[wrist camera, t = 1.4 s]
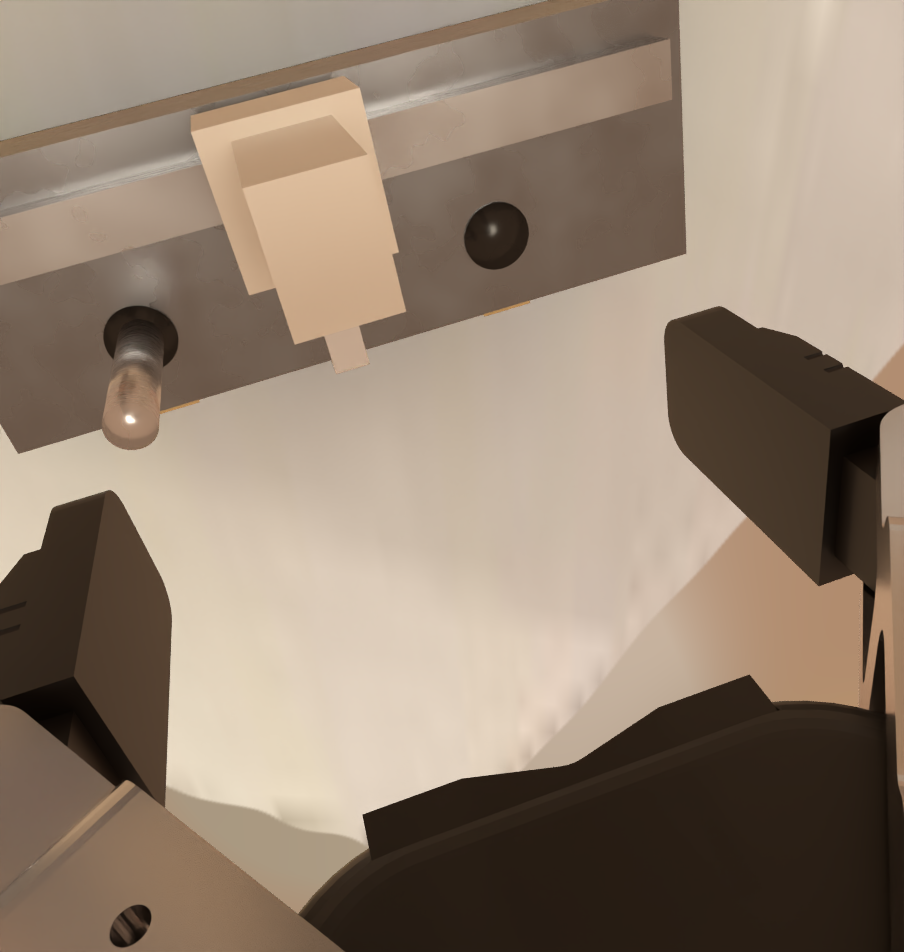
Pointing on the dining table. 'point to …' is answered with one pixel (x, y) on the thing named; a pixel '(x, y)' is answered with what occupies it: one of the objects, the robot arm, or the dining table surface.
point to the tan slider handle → (306, 209)
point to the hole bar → (407, 193)
